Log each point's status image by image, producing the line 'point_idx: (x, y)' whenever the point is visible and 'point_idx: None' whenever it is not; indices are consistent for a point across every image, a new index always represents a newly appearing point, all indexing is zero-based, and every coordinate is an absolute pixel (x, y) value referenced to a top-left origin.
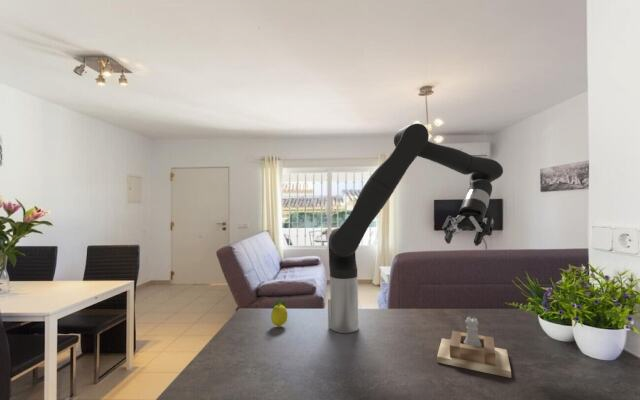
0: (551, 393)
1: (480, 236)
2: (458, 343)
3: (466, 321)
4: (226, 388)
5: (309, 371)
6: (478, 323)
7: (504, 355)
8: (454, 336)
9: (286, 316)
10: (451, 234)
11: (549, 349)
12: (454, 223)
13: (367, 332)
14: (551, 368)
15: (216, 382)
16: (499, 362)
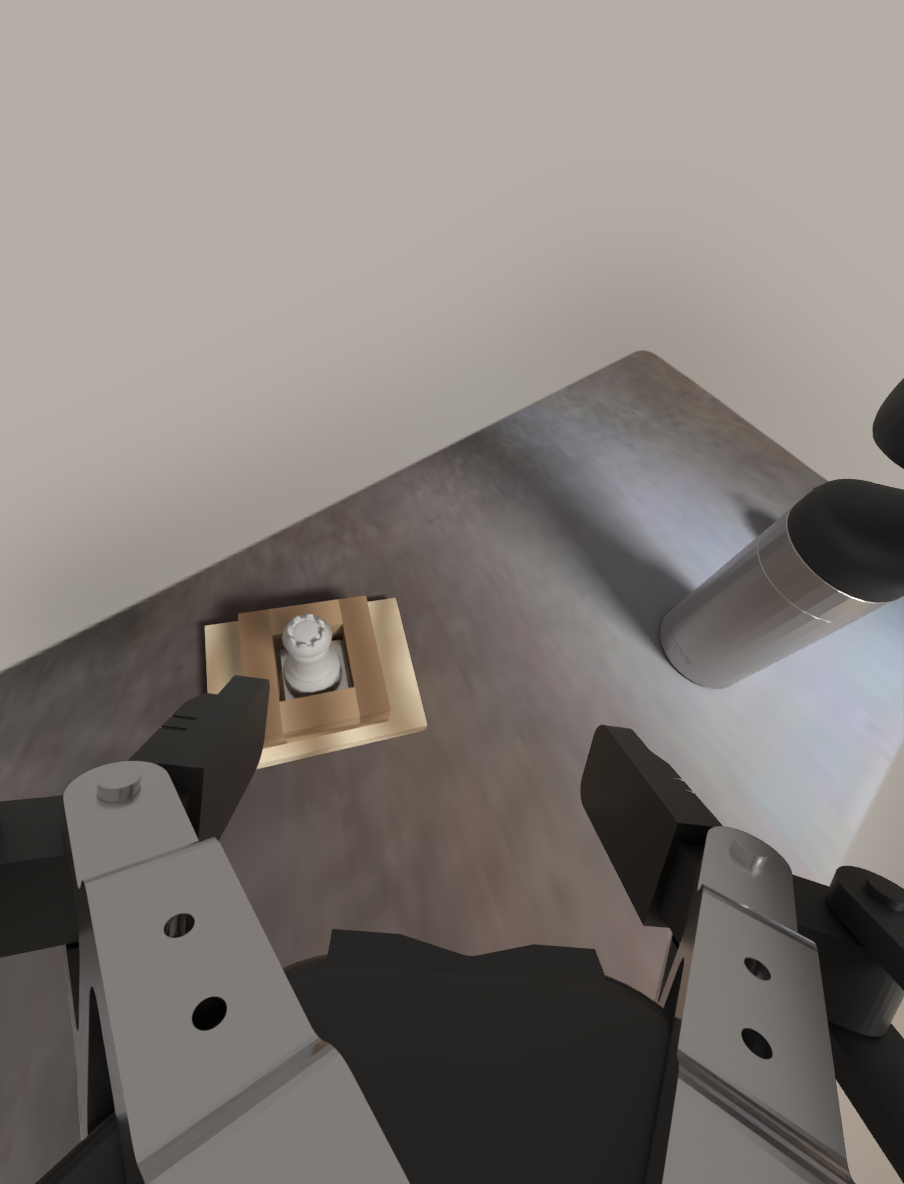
0: (117, 616)
1: (158, 737)
2: (346, 619)
3: (324, 621)
4: (613, 376)
5: (572, 450)
6: (283, 633)
7: None
8: (371, 664)
9: None
10: (645, 856)
11: (25, 981)
12: (769, 943)
13: (635, 660)
14: (75, 770)
15: (636, 379)
16: (234, 658)
